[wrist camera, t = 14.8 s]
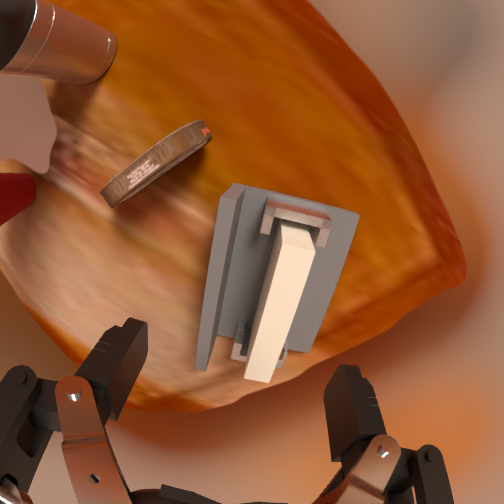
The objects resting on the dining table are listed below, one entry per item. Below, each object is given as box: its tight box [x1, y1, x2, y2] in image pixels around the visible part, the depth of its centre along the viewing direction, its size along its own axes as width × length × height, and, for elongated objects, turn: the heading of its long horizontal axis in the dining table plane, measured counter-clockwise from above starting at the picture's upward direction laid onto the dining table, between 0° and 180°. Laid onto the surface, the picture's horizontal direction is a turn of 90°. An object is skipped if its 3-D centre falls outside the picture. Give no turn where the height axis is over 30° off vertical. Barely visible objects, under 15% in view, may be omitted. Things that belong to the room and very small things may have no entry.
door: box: [244, 218, 315, 383], centre depth 32 cm, size 4×17×10 cm, turn 168°
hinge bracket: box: [194, 183, 360, 372], centre depth 34 cm, size 16×22×10 cm
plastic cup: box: [0, 173, 36, 226], centre depth 31 cm, size 11×11×12 cm
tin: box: [100, 119, 212, 208], centre depth 30 cm, size 15×3×8 cm, turn 120°
